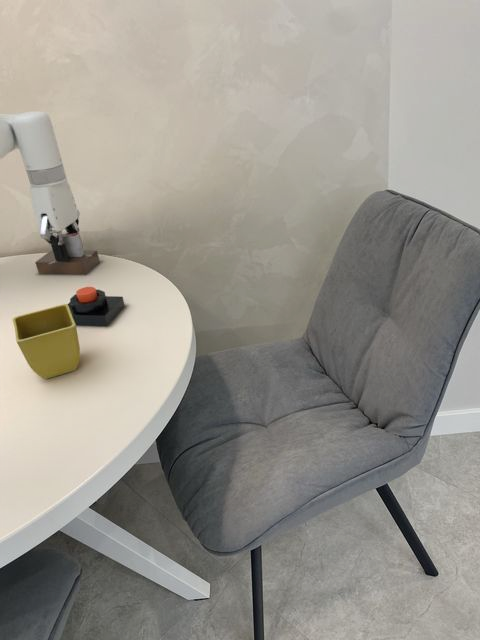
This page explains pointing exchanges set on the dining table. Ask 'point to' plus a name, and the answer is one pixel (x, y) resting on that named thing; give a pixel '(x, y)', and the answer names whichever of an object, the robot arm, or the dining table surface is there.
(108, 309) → the button block
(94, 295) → the button
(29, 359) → the flower pot
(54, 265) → the base
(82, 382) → the dining table surface
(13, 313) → the dining table surface
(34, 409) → the dining table surface
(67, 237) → the tap lever
